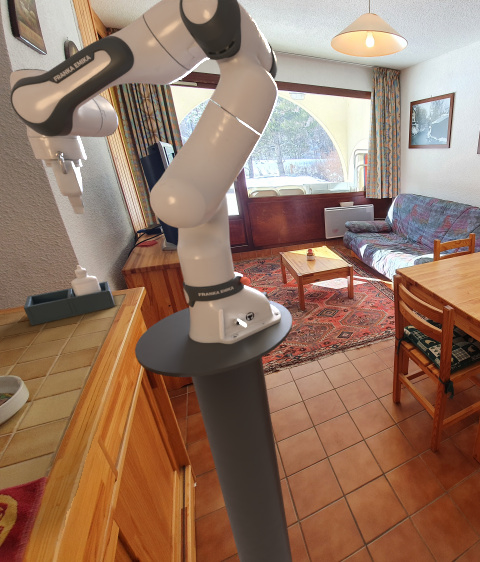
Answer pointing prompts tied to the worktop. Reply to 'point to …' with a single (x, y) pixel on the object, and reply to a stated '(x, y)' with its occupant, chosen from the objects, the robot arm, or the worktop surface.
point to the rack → (66, 304)
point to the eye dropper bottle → (84, 282)
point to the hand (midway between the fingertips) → (80, 210)
